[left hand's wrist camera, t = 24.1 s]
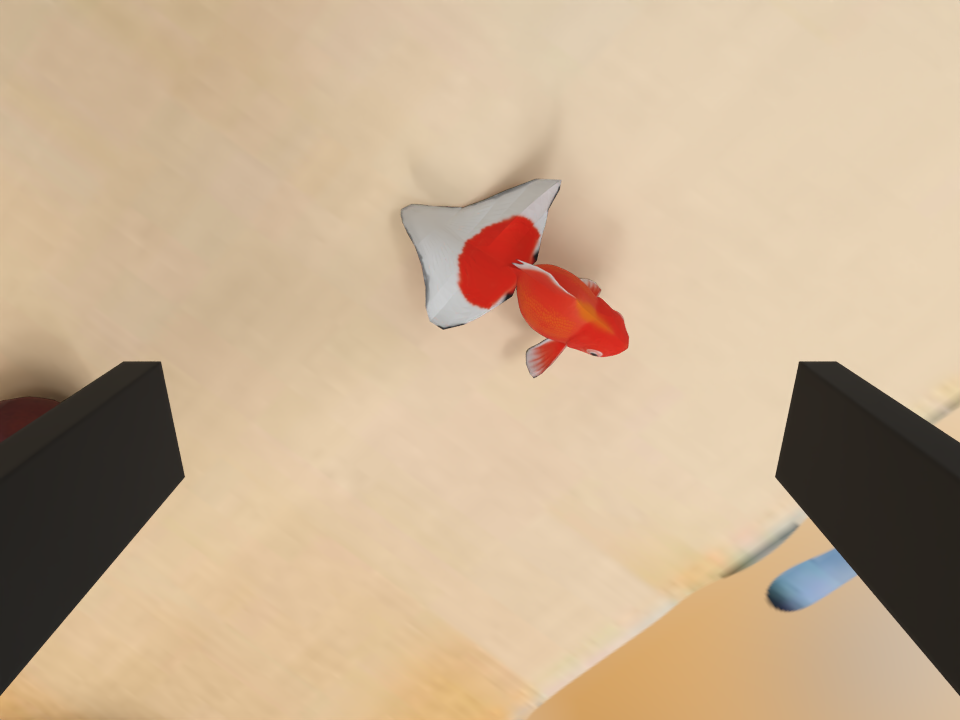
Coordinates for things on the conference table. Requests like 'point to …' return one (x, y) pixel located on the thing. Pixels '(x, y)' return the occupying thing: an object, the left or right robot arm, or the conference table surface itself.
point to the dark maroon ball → (21, 413)
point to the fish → (509, 273)
